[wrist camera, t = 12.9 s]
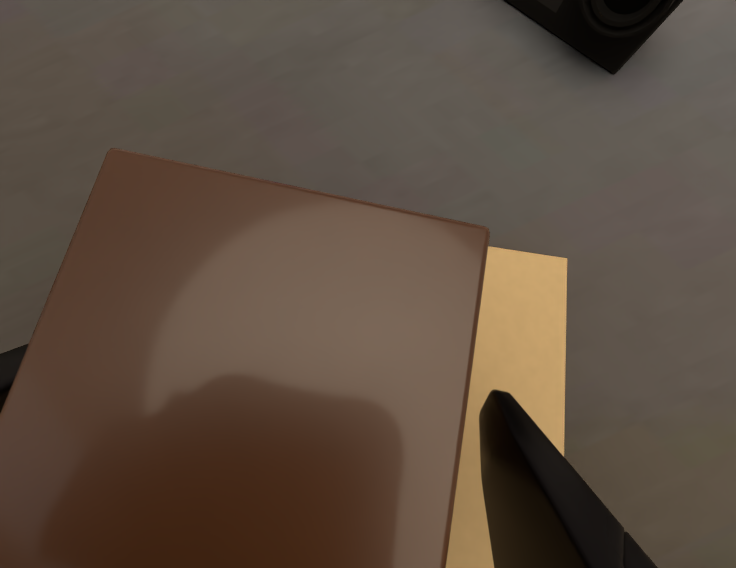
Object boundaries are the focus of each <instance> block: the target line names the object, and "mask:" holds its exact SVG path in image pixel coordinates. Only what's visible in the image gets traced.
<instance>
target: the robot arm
mask: <svg viewBox="0 0 736 568" xmlns="http://www.w3.org/2000/svg"><path fill="white" fill-rule="evenodd" d="M28 345H29V344H26V345H23V346H21V347H18V348H15V349H13V350H10V351H7V352H4V353H2V354H0V413H1V411H2V408H3V406H4V403H5V401H6V398H7V396H8V394H9V391H10V389H11V386H12V384H13V381H14V379H15V377H16V374H17V372H18V369H19V367H20V364H21V362H22V359H23V357H24V355H25V352H26V350H27V347H28ZM479 435H480V462H481V480H482V488H483V495H484V502H485V509H486V516H487V523H488V529H489V536H490V543H491V550H492V557H493V563H494V568H658V567H657V566H656V565H655V564H654V563H653V562H652V560H651V559H650V558H649V557H648V556H647V555H646V554H645V552H644V551H643V550H642V549H641V548H640V546H639V545H638V544H637V543H636V542H635V541H634V539H633V538H632V537H631V536H630V535H629V533H627V532H624V528H623V527H622V525H621V524H620V523H619V522H618V521H617V519H616V518H615V517H614V516H613V515H612V513H611V512H610V511H609V510H608V509H607V508H606V506H605V505H604V504H603V503H602V502H601V500H600V499H599V498H598V497H597V496H596V494H595V493H594V492H593V491H592V490H591V489H590V487H589V486H588V485H587V484H586V483H585V481H584V480H583V479H582V478H581V477H580V475H579V474H578V473H577V472H576V471H575V470H574V468H573V467H572V466H571V465H570V464H569V462H568V461H567V460H566V459H565V458H564V456H563V455H562V454H561V453H560V452H559V451H558V449H557V448H556V447H555V446H554V445H553V443H552V442H551V441H550V440H549V439H548V437H547V436H546V435H545V434H544V433H543V432H542V430H541V429H540V428H539V427H538V426H537V424H536V423H535V422H534V421H533V420H532V418H531V417H530V416H529V415H528V414H527V413H526V411H525V410H524V409H523V408H522V407H521V405H520V404H519V403H518V402H517V401H516V400H515V398H514V397H513V396H512V395H511V394H510V393H509V392H506V391H501V390H497V389H493V390H492V391H490V393H489V395H488V397H487V399H486V400H485V402H484V404H483V406H482V408H481V410H480V414H479Z"/></svg>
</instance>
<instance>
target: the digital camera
mask: <svg viewBox="0 0 736 568" xmlns="http://www.w3.org/2000/svg"><path fill="white" fill-rule="evenodd" d="M506 1H508V2H509V3H511V4H512V5H514V6H515V7H516V8H518V9H519V10H521V11H522V12H524V13H525V14H527V15H528V16H529V17H531V18H532V19H534V20H535V21H537V22H538V23H540V24H541V25H542V26H544V27H545V28H547V29H548V30H550V31H551V32H553V33H554V34H556V35H557V36H558V37H560V38H561V39H563V40H564V41H566V42H567V43H569V44H570V45H572V46H573V47H575V48H576V49H578V50H579V51H580V52H582V53H583V54H585V55H586V56H588V57H589V58H591V59H592V60H594V61H595V62H597V63H598V64H600V65H601V66H603V67H604V68H606V69H607V70H609V71H610V72H612V73H614V74H615V73H616V72H617V71H618V70H619V69H620V68H621V67H622V66H623V65H624V64H625V63H626V62H627V61H628V60H629V59H630V58H631V56H632V55H633V54H634V53H635V52H636V51H637V50H638V49H639V48H640V47H641V46H642V44H643V43H644V42H645V41H646V40H647V39H648V38H649V37H650V36H651V35H652V34H653V33H654V31H655V30H656V29H657V28H658V27H659V26H660V25H661V24H662V23H663V22H664V21H665V20H666V18H667V17H668V16H669V15H670V14H671V13H672V12H673V11H674V10H675V9H676V8H677V7H678V6H679V4H680V3H681V2H682V1H683V0H506Z"/></svg>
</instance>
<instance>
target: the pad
mask: <svg viewBox="0 0 736 568" xmlns="http://www.w3.org/2000/svg"><path fill="white" fill-rule="evenodd" d="M566 297H567V259H566V258H561V257H554V256H548V255H541V254H535V253H528V252H522V251H515V250H508V249H502V248H495V247H489V246H488V252H487V260H486V267H485V275H484V282H483V290H482V297H481V305H480V313H479V320H478V328H477V335H476V343H475V350H474V358H473V365H472V373H471V381H470V388H469V396H468V403H467V411H466V418H465V426H464V433H463V441H462V449H461V456H460V464H459V471H458V479H457V486H456V494H455V501H454V509H453V517H452V524H451V532H450V539H449V547H448V554H447V562H446V568H494V563H493V557H492V550H491V543H490V536H489V529H488V523H487V516H486V509H485V502H484V495H483V488H482V480H481V462H480V435H479V414H480V410H481V408H482V406H483V404H484V402H485V400H486V399H487V397H488V395H489V393H490V391H492V390H493V389H497V390H501V391H506V392H509V393H510V394H511V395H512V396H513V397H514V398H515V400H516V401H517V402H518V403H519V404H520V405H521V407H522V408H523V409H524V410H525V411H526V413H527V414H528V415H529V416H530V417H531V418H532V420H533V421H534V422H535V423H536V424H537V426H538V427H539V428H540V429H541V430H542V432H543V433H544V434H545V435H546V436H547V437H548V439H549V440H550V441H551V442H552V443H553V445H554V446H555V447H556V448H557V449H558V451H559V452H560V453H561V454H562V455H563V456H564V418H565V357H566Z"/></svg>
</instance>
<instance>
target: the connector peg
mask: <svg viewBox="0 0 736 568" xmlns="http://www.w3.org/2000/svg"><path fill="white" fill-rule="evenodd" d="M489 237H490V232H489V229H488V228H487V227H485V226H480V225H475V224H470V223H466V222H461V221H456V220H452V219H447V218H442V217H437V216H433V215H428V214H423V213H419V212H414V211H409V210H404V209H400V208H395V207H390V206H386V205H381V204H376V203H372V202H367V201H362V200H357V199H353V198H348V197H343V196H339V195H334V194H329V193H324V192H320V191H315V190H310V189H306V188H301V187H296V186H291V185H287V184H282V183H277V182H273V181H268V180H263V179H258V178H254V177H249V176H244V175H240V174H235V173H230V172H225V171H221V170H216V169H211V168H207V167H202V166H197V165H192V164H188V163H183V162H178V161H174V160H169V159H164V158H160V157H155V156H150V155H145V154H141V153H136V152H131V151H127V150H122V149H117V148H112V149H110V150H109V151H108V152H107V155H106V157H105V160H104V162H103V164H102V167H101V169H100V172H99V174H98V177H97V179H96V181H95V184H94V186H93V189H92V191H91V194H90V196H89V199H88V201H87V203H86V206H85V208H84V211H83V213H82V216H81V218H80V221H79V223H78V225H77V228H76V230H75V233H74V235H73V238H72V240H71V242H70V245H69V247H68V250H67V252H66V255H65V257H64V260H63V262H62V264H61V267H60V269H59V272H58V274H57V277H56V279H55V281H54V284H53V286H52V289H51V291H50V294H49V296H48V299H47V301H46V303H45V306H44V308H43V311H42V313H41V316H40V318H39V320H38V323H37V325H36V328H35V330H34V333H33V335H32V338H31V340H30V342H29V345H28V347H27V350H26V352H25V355H24V357H23V359H22V362H21V364H20V367H19V369H18V372H17V374H16V377H15V379H14V381H13V384H12V386H11V389H10V391H9V394H8V396H7V398H6V401H5V403H4V406H3V408H2V411H1V413H0V568H446V562H447V554H448V547H449V539H450V532H451V524H452V517H453V509H454V501H455V494H456V486H457V479H458V471H459V464H460V456H461V449H462V441H463V433H464V426H465V418H466V411H467V403H468V396H469V388H470V381H471V373H472V365H473V358H474V350H475V343H476V335H477V328H478V320H479V313H480V305H481V297H482V290H483V282H484V275H485V267H486V260H487V252H488V245H489Z"/></svg>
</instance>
